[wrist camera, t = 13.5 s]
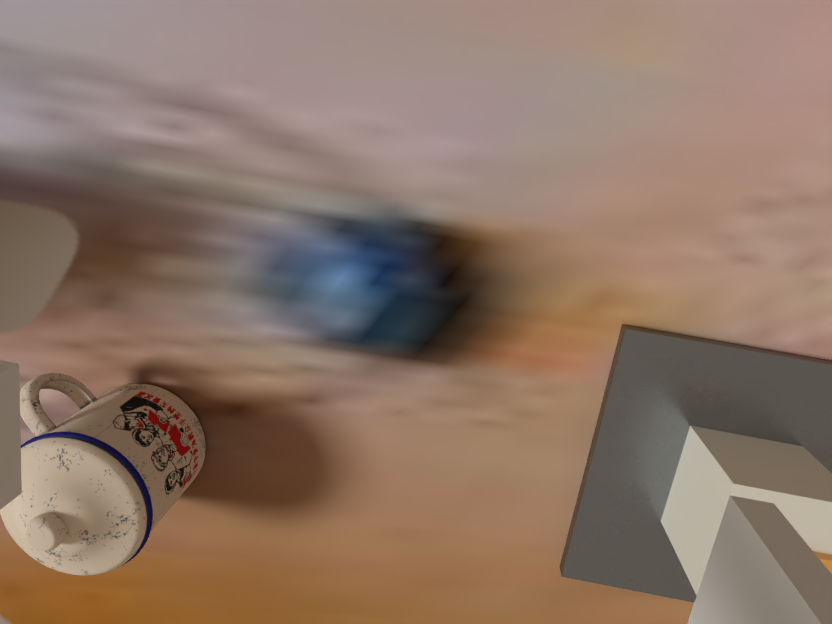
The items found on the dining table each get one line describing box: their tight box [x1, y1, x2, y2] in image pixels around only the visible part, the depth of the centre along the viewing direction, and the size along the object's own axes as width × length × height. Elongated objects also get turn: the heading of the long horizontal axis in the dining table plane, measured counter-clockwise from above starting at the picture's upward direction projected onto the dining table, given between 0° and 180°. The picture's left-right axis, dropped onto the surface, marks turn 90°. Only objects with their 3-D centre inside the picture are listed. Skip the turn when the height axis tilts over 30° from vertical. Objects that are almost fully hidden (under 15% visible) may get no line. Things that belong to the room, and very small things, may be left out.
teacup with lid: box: [0, 373, 206, 575], centre depth 39 cm, size 12×9×12 cm
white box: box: [661, 426, 832, 595], centre depth 37 cm, size 7×7×8 cm
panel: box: [560, 324, 832, 602], centre depth 39 cm, size 18×18×6 cm
